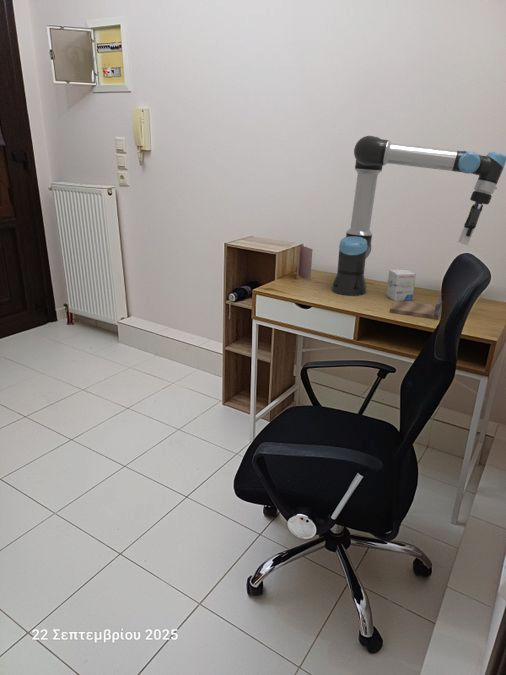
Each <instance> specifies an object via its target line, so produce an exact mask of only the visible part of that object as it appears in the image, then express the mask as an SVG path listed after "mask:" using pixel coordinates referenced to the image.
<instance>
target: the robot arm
mask: <svg viewBox="0 0 506 675" xmlns="http://www.w3.org/2000/svg"><path fill="white" fill-rule="evenodd" d="M353 154H354V158H355V165H354V170H355V171H356V172H357V177H356V184H355V190H354V193H355V194H354V201H353V207H352V213H351V220H350V221H351V222H350V228H349V229H348V230H347V231H346V234H345V237H343V238H341V240H340V241H339V246H338V249H339V250H338V251H339V252H338V260H337V262H338V263H337V273H336V276H335V278H334V280H333V282H332V286H331V291H332V292H333V293H336V294H339V295H345V296H362V295H365V294H366V293H367V284H366V280H365V269H366V268H365V267H366V259H367V258H368V257H369V256H370V254H371V252H372V240H373V239H372V238H373V233H372V231H371V229H370V228H371V222H372V216H373V209H374V201H375V194H376V188H377V182H378V175H379V174H380V173H381V172H382V171H383V167H384V166H386V165H387V164H391V165H399V166H405V167H406V166H408V167H415V168H422V169H423V168H424V169H431V170H432V169H434V170H439V171H441V170H442V171H449V172H456V173H463V174H468V175H469V174H471V175H475V176H478V179H477V180H476V183H475V185H474V187H473V192H471V196H470V199H469V200H470V201H472V202H474V204H472V206H471V207H470V211H469V213H468V215H467V217H466V220H465V223H464V224H463V228H462V231H461V234H460V236H459V239H458V241H457V243H460V244H462V245H465V246H469V242H470V241H471V238H472V236H473V233H474V231H475V229H476V227H477V223H478V220H479V218H480V216H481V213H482V211H483V207H484V205H490V202H491V199H492V195H493V194H494V192H495V190H497V189H498V188H497V187H496V186H497V184H498V182H499V180H500V178H501V175H502V173H503V170H504V169H505V168H504V167H505V164H506V154H504V153H501V152H496V151H489V152H488V153H487V155H481V154H478V153H477V152H475V151H466V150H459V149H457V150H454V149H445V148H437V147H426V146H421V145H420V146H418V145H412V144H411V145H409V144H401V143H392V142H391V141H390V139H389V140H388V139H382V138H380V137H378V136H373V135H365V136H363V137H361V138H360V139H359V140H358V141H357V142H356V144H355V146H354V149H353Z"/></svg>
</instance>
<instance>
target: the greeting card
mask: <svg viewBox="0 0 506 675" xmlns="http://www.w3.org/2000/svg"><path fill="white" fill-rule="evenodd" d="M296 262H297V263H296V272H295V274H296V279H298V278H299V276H300V277H302V276H303V278H305V279H306V280H309V281H311V280H312V279H311V278H312V277H311V276H312V264H313V249H312V248H310V247H307V246H305V245H302V244H301V245H300V246H299V247H298V250H297V261H296Z"/></svg>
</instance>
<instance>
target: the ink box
mask: <svg viewBox="0 0 506 675" xmlns="http://www.w3.org/2000/svg"><path fill="white" fill-rule="evenodd" d="M416 277H417V274H416V273H415V272H413V271H411V270H408V269H389V271H388V278H387V285H386V287H387V288H386V293H385V296H386V297H387V298H389V299H391V300H392V301H394V302H395V300H401V301H413V300H414V298H413V296H414V290H415V283H416Z"/></svg>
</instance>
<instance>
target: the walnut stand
mask: <svg viewBox="0 0 506 675" xmlns="http://www.w3.org/2000/svg"><path fill="white" fill-rule="evenodd" d="M441 295H442V294H439V295H438V298H437V299H436V300H437V301H436V303H435V304H429V303H421V302H415V301H410V300H403V301H401V300H395V301H394V302H393V304H392V305H391V307H390V308H389V313H390V314H391V313H392V314H398V315H406V316H412V317H418V318H419V317H420V318H425V319H431V320H439V317H440V315H441V311H442V307H441Z"/></svg>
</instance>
